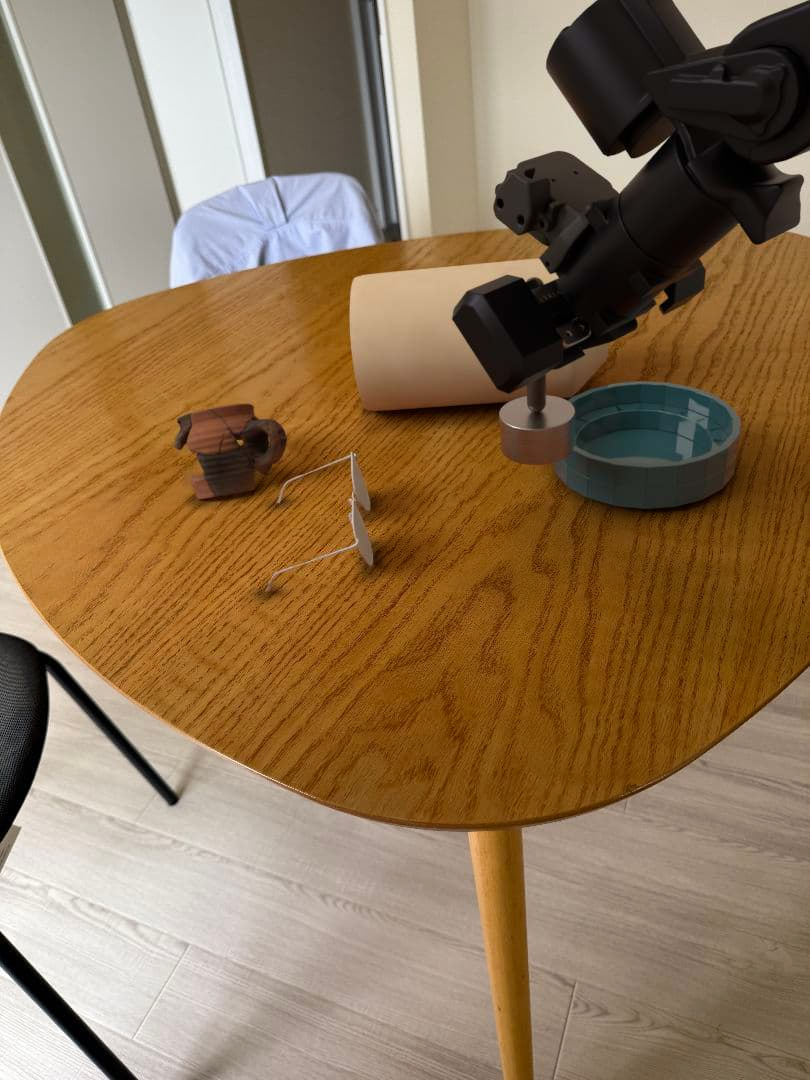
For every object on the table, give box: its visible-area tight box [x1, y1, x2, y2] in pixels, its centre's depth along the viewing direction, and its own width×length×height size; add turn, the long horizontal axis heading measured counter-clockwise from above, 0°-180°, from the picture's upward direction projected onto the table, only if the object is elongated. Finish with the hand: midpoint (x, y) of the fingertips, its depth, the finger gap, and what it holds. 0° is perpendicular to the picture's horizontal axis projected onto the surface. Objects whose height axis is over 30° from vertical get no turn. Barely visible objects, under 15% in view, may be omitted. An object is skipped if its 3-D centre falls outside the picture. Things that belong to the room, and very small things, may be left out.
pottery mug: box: [173, 402, 288, 500], centre depth 75 cm, size 12×10×8 cm
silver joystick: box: [498, 277, 575, 466], centre depth 56 cm, size 6×6×13 cm
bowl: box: [552, 380, 742, 510], centre depth 68 cm, size 15×15×4 cm
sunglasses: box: [265, 451, 374, 593], centre depth 65 cm, size 14×8×5 cm, turn 4°
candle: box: [349, 257, 609, 412], centre depth 80 cm, size 14×14×25 cm
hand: (522, 362), depth 57 cm, fingers closed on silver joystick
